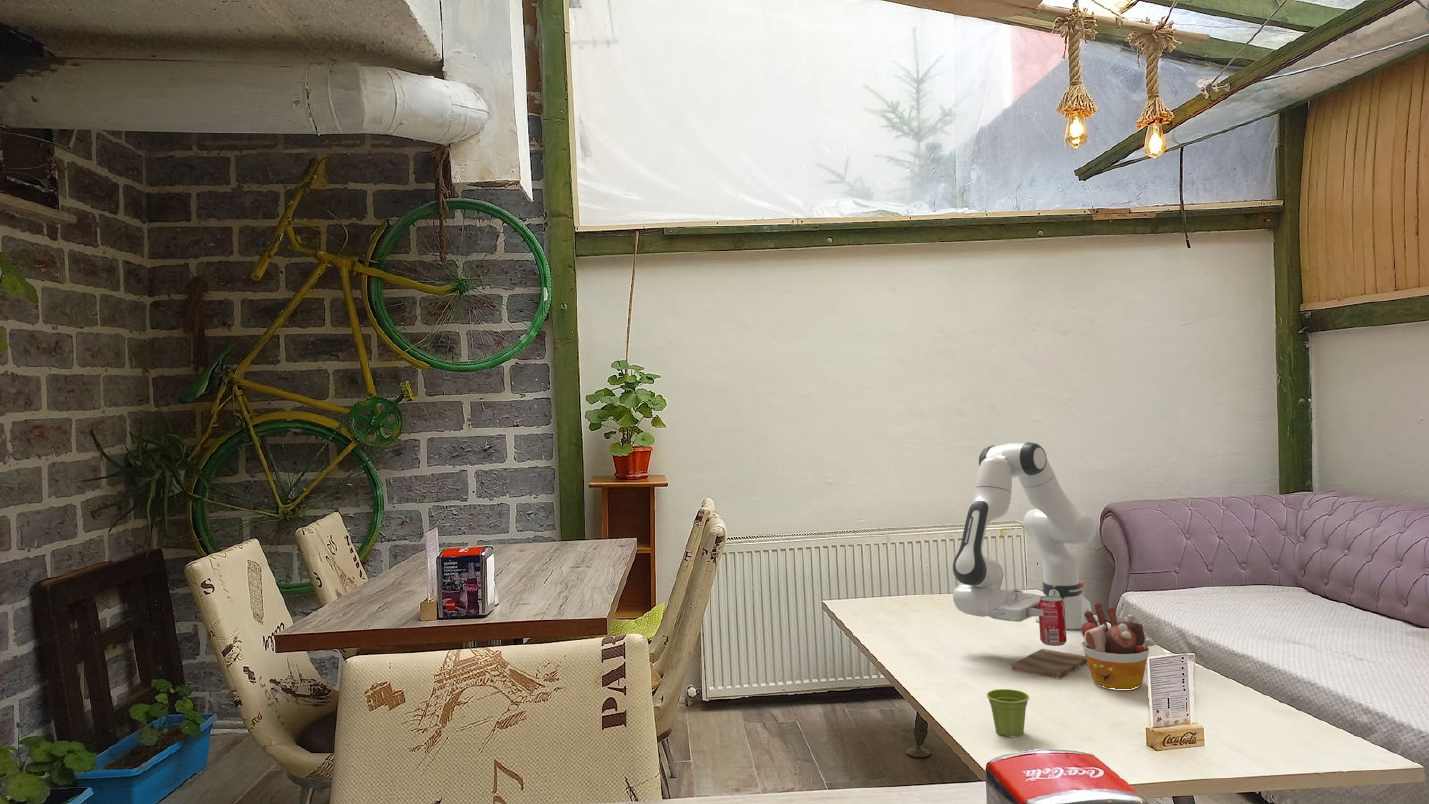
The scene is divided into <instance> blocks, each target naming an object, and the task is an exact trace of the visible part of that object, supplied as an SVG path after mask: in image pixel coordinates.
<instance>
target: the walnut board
mask: <svg viewBox="0 0 1429 804" xmlns="http://www.w3.org/2000/svg"><path fill="white" fill-rule="evenodd" d="M1086 663H1087V659H1086V655H1081V654H1074V653H1070V652H1069V653H1068V652H1064V651H1059V650H1058V651H1057V650H1053V649H1046V648H1040V649H1039V650H1037V651H1035V652H1033V653H1032V654H1031V653H1030V654H1029V655H1027V656H1025V657H1023V658H1021V659H1019V660H1017V661H1016V662H1013V663H1011V670H1012V669H1013V670H1012V671H1015V670H1018V671H1017V672H1020V671H1021V672H1022V673H1026V672H1027V674H1030V675H1031V674H1032V675H1036V674H1037V675H1036V676H1041V677H1046V676H1047V677H1046V678H1052V677H1055V678H1054V679H1057V678H1061V679H1063V678H1064V676H1065V677H1066V676H1068V675H1069V673H1070V672H1071V673H1073V672H1075V671H1076V670H1078V669H1080V668H1081V666H1082V667H1083V666H1085V665H1087V664H1088V663H1087V664H1086ZM1084 664H1085V665H1084ZM1075 669H1076V670H1075ZM1074 670H1075V671H1074ZM1072 671H1073V672H1072ZM1071 673H1070V674H1071ZM1067 674H1068V675H1067ZM1056 677H1057V678H1056ZM1062 677H1063V678H1062Z"/></svg>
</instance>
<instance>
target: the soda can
mask: <svg viewBox="0 0 1429 804" xmlns="http://www.w3.org/2000/svg"><path fill="white" fill-rule="evenodd" d="M1041 596H1042V597H1040V601H1039V603H1038V607H1039V609H1041V610H1043V615H1044V616H1038V617H1039V622H1038V625H1039V640H1040V642H1041V643H1042V644H1043V645H1045V646H1050V647H1051V646H1052V647H1061V646H1064V645H1065V644H1066V643H1067V629H1066V619H1065V604H1064V602H1063V598H1061V597H1057V596H1043V595H1041Z"/></svg>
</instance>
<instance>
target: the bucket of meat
mask: <svg viewBox="0 0 1429 804" xmlns="http://www.w3.org/2000/svg"><path fill="white" fill-rule="evenodd" d="M1102 605H1103V604H1101V603H1100V602H1099V601H1098V602H1095V603H1094V606H1093V607H1094V609H1095V613H1096V614H1095V615H1096V616H1097V617H1098V621H1097V622H1096V620H1095V618H1094V616H1093V615H1094V614H1093V612H1092V611H1091V612H1090V611H1086V612H1085V617H1086V619H1087V621H1088V622H1087V623H1084V624H1083V626H1082V629H1081V635H1082V637H1083V638H1084V639H1083V640H1084V641H1082V642H1081V646H1082V648H1083V652H1084V656H1086V659H1087V662H1088V663H1087V667H1088V669H1089V673H1090V676H1091V679H1092V680H1093V682H1094V683H1095V684H1096V685H1097V686H1098V685H1100V686H1104V687H1106V688H1115V689H1132V688H1135V687H1138V686H1140V687H1141V686H1142V685H1143V682H1144V677H1145V671H1146V667H1147V662H1148V661H1147V660H1148V656H1149V654H1150V650H1149V647H1153V646H1155V645H1156V643H1155V640H1153V639H1152V638H1149V637H1147V638H1145V631H1144V627H1143V624H1141V623H1137V622H1134V620H1135V619H1136V616H1135V615H1134V614H1127V616H1124V617H1123V621H1119V622H1118V619H1117V613H1116V609H1115V608H1114V607H1113V606H1109V607H1108V608H1107V613H1108V618H1109V623H1110V628H1109V627H1108V624H1107V620H1106V617H1105V613H1104V609H1103V606H1102ZM1098 623H1099V625H1098ZM1146 661H1147V662H1146ZM1100 686H1099V687H1100ZM1106 688H1105V689H1106Z"/></svg>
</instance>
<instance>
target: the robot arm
mask: <svg viewBox="0 0 1429 804" xmlns="http://www.w3.org/2000/svg"><path fill="white" fill-rule="evenodd" d="M1046 453H1047V452H1046V450H1045V449H1044V448H1043V447H1042V446H1041V445H1040V444H1038V443H1036V442H1031V441H1030V442H1009V443H1003V444H1000V445H989V446H987V447H985V448H984V449H982V451H981V452H980V454H979V457H978V467H979V468H978V471H977V475H976V478H975V479H976V480H975V485H974V486H975V487H974V492H973V498H972V502H971V505H970V506H969V509H968V510H967V516H966V519H965V524H964V528H963V532H962V536H961V542H960V547H959V549H958V551H957V553H956V554H955V557H954V560H953V563H952V572H953V575H954V577H955V579H956V580H957V581H958V582H960V584H959V585H957V586H956V587H955V588H954V589H953V594H952V599H953V603H954V606H955V607H956V609H957V610H958V611H959V612H961V613H963V614H967V615H971V616H975V617H980V618H985V617H989V618H990V619H993V620H998V621H999V620H1000V621H1007V622H1016V623H1017V622H1018V623H1020V622H1023V621H1025V620H1027V619H1030V618H1032V617H1035V622H1038V623H1039V616H1044V615H1043V610H1041V609H1039V607H1038V603H1039V601H1040V597H1042V596H1057V597H1061V598H1063V602H1064V604H1065V619H1066V630H1082V626H1083V624H1084V623H1087V622H1088V621H1087V619H1086V617H1085V612H1086V611H1090V612H1091V613H1092V606H1091V602H1090V601H1089V600H1088V599H1087V598H1086V597H1085V596H1084V595H1083V594H1082V593H1083V591H1082V589H1083V588H1084V586H1085V585H1084V582H1083V581H1079V562H1078V560H1077V558H1076V557H1075V556H1074V554H1072V553H1071V552H1070V551H1069V550H1068V549H1067V547H1066V544H1072V545H1078V544H1079V545H1080V544H1088V543H1089V542H1091V541H1092V540H1093V538H1094V536H1095V535H1096V531H1097V529H1096V527H1097V525H1096V522H1095V520H1094V519H1093V517H1092V516H1091V515H1089V514H1088V513H1086V512H1085V511H1083V510H1081V509H1080V508H1079V506H1077V505H1076V504H1074V502H1073V501H1072V500H1071V499H1070V498H1069V497H1068V496H1067V495H1066V493H1065V492H1064V491H1063V489H1062V487H1061V484H1060V483H1059V481H1058V478H1057V476H1056V475H1055V472H1054V469H1053V468H1052V465H1051V464H1050V462H1049V461H1048V459H1047V454H1046ZM1013 478H1018V480H1019V482H1020V485H1021V487H1022V489H1023V491H1024V493H1025V495H1026V498H1027V500H1028V502H1029V503H1030V505H1031V506H1032V507H1034V509H1030V510H1028V511H1027V512H1026V513H1025V515H1024V517H1023V521H1022V523H1023V524H1022V525H1023V529H1024V532H1025V533H1026V534H1027V535H1028V536H1029V537H1030V538H1031V539H1032V541H1033V542H1034V543H1035V546H1036V548H1037V549H1038V552H1039V555H1040V558H1041V564H1042V572H1043V576H1042V577H1043V582H1042V585H1041V587H1042V593H1043V594H1042V595H1040V594H1035V593H1028V592H1024V591H1023V590H1022V589H1016V590H1009V589H1008V590H1007V589H1001V586H1002V583H1003V578H1004V570H1003V568H1002V566H1001V565H1000V564H999V562H997V561H996V560H994V559H992V558H989V557H987V556H985V555H984V554H983V547H984V541H985V537H986V533H987V532H986V531H987V527H988V525H989V524H990V523H991V522H992V521H994V520H998V519H1000V518H1002V517H1004V516H1005V515H1006V514H1007V513H1008V511H1009V508H1010V505H1011V500H1012V499H1011V498H1012V487H1013V486H1012V485H1013V484H1012V483H1013V482H1012V481H1013ZM1093 616H1094V618H1095V620H1096V622H1097V623H1098V622H1099V621H1098V617H1097V614H1093Z"/></svg>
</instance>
